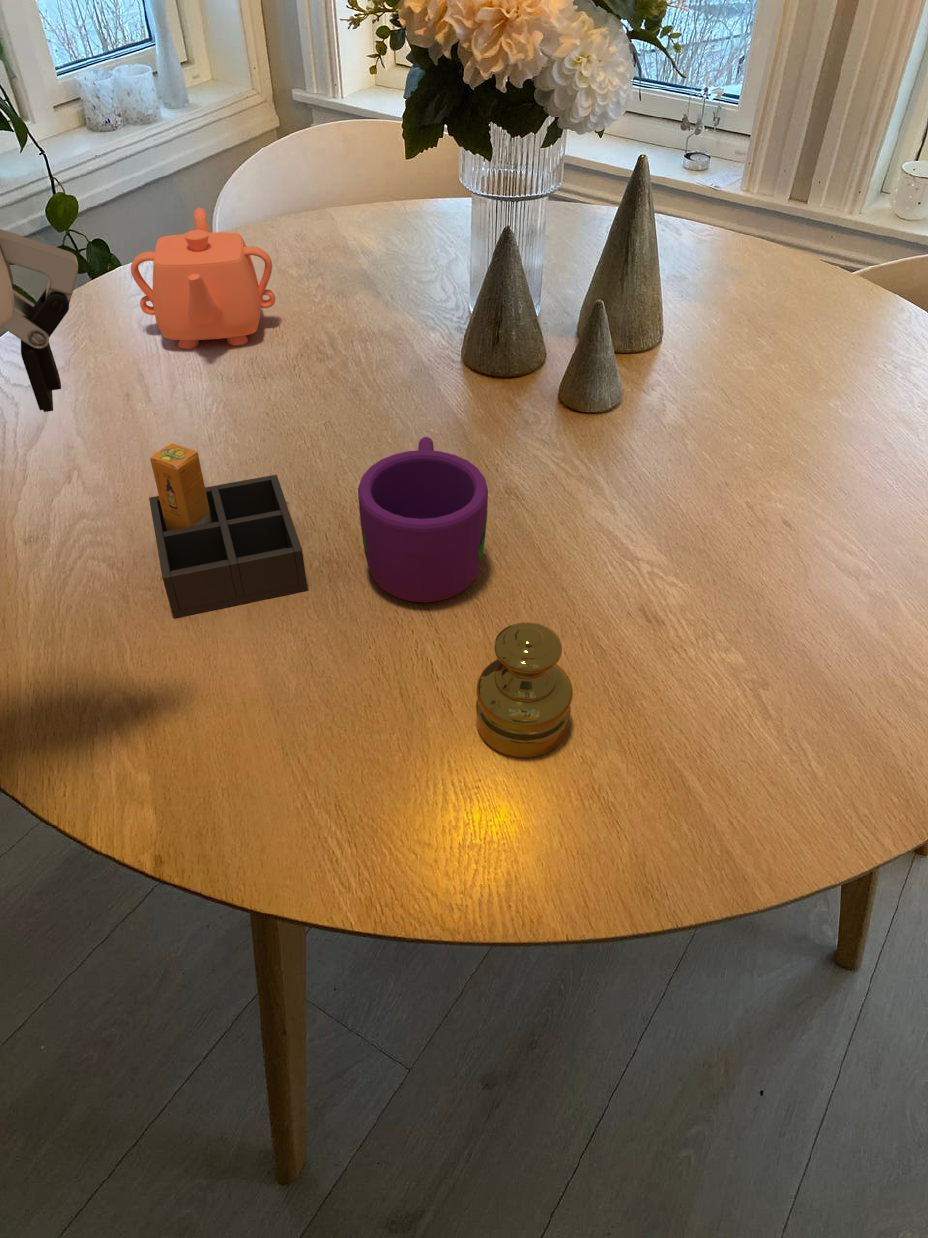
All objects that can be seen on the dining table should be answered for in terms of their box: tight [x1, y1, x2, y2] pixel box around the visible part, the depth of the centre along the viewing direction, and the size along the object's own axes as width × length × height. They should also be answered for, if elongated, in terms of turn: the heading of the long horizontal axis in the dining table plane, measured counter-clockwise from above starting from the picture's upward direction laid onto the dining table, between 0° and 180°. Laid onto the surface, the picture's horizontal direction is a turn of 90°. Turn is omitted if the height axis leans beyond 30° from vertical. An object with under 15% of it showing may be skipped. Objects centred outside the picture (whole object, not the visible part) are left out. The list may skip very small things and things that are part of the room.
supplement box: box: [149, 443, 212, 531], centre depth 88 cm, size 3×3×10 cm
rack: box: [148, 474, 308, 619], centre depth 89 cm, size 12×12×5 cm
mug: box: [357, 436, 489, 603], centre depth 89 cm, size 17×11×10 cm, turn 0°
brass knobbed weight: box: [475, 621, 574, 758], centre depth 73 cm, size 7×7×10 cm
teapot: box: [130, 207, 276, 350], centre depth 119 cm, size 15×17×13 cm
